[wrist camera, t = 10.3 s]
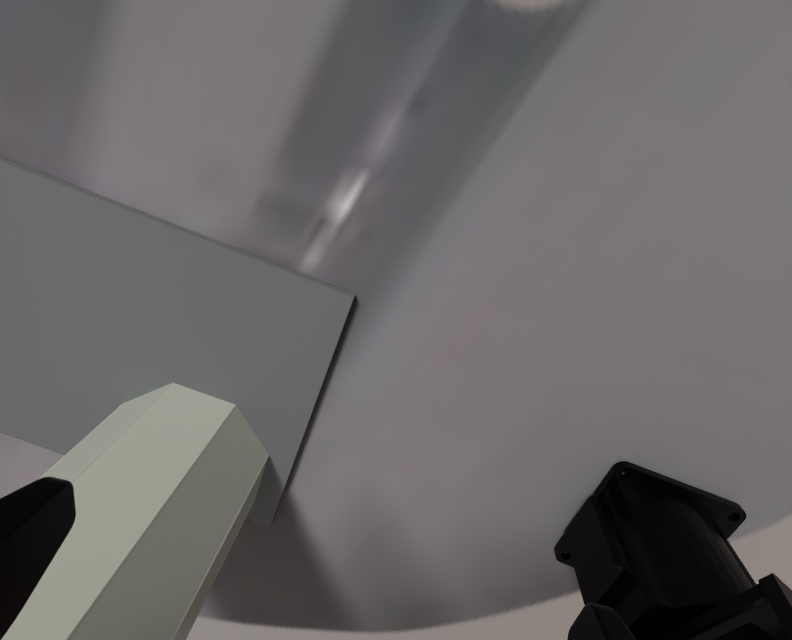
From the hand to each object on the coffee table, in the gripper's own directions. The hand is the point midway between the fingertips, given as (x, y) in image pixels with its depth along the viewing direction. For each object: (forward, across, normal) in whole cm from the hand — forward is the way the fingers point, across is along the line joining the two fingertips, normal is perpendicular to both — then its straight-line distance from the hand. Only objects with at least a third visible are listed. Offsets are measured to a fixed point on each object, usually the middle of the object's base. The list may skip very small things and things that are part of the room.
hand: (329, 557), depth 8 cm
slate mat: (+13, +11, +7) cm, 18 cm away
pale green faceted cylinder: (+12, +8, +11) cm, 19 cm away
